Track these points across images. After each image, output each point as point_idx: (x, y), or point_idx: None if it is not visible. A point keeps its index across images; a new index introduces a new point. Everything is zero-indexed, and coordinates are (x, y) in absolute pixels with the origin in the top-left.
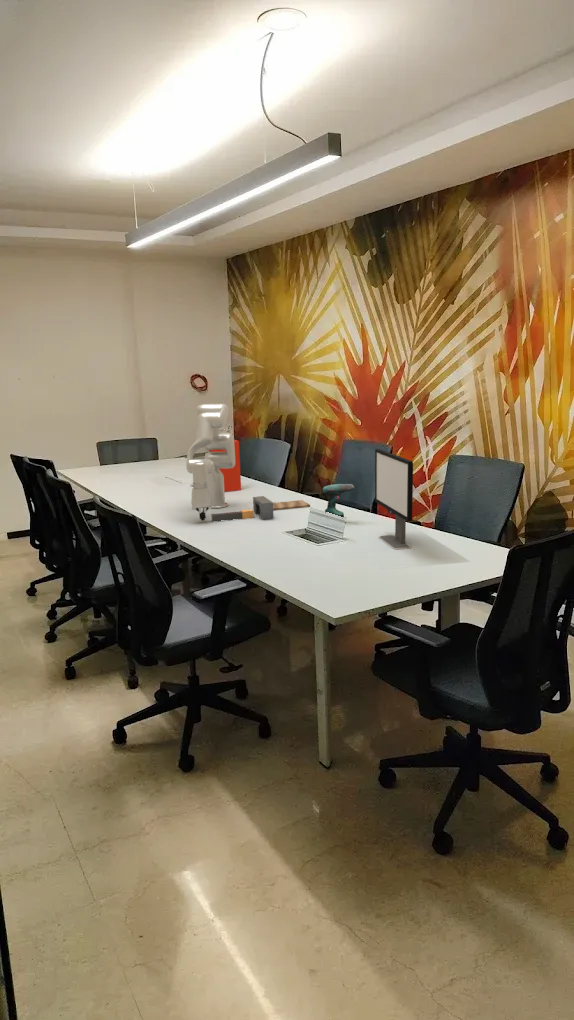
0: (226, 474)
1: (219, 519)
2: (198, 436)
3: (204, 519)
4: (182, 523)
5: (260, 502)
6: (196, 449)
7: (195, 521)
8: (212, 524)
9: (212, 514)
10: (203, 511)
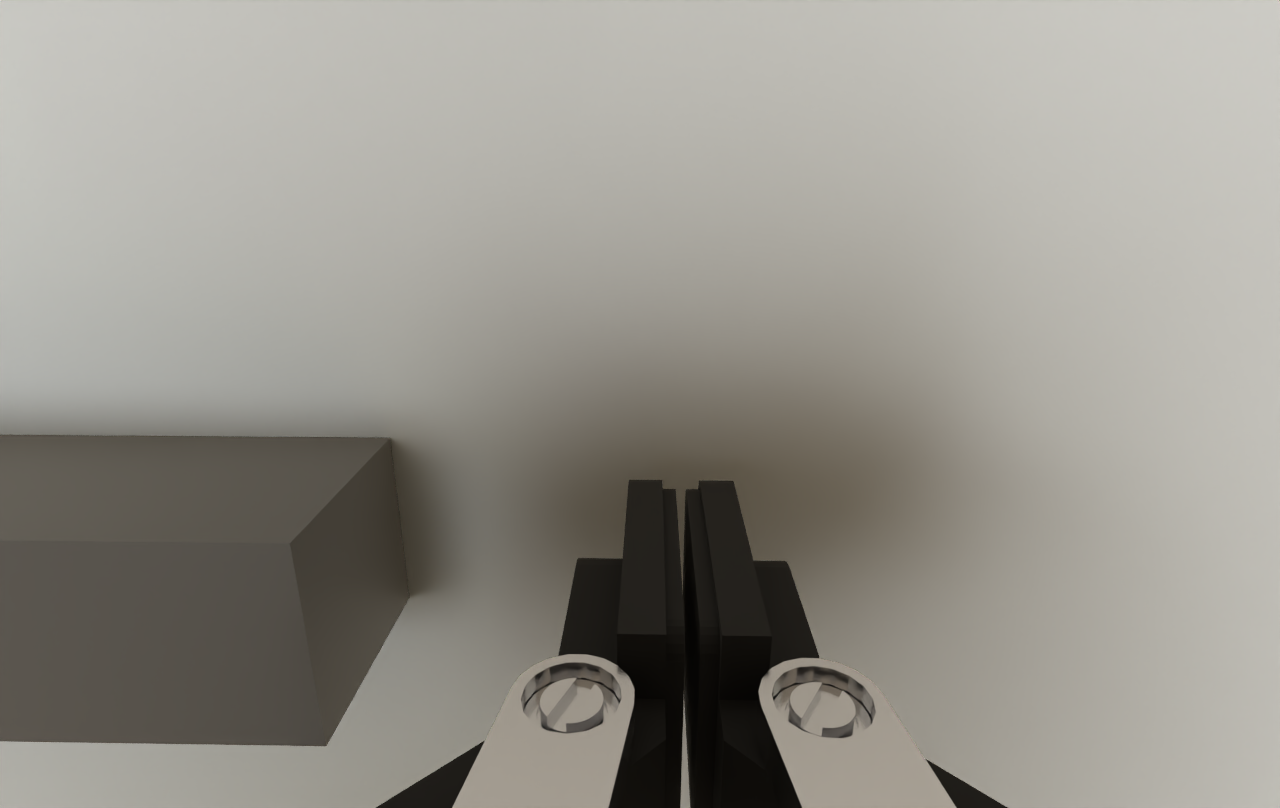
0: None
1: (143, 460)
2: None
3: (638, 487)
4: (1238, 624)
5: None
6: None
7: None
8: (433, 119)
9: (281, 679)
10: (644, 746)
